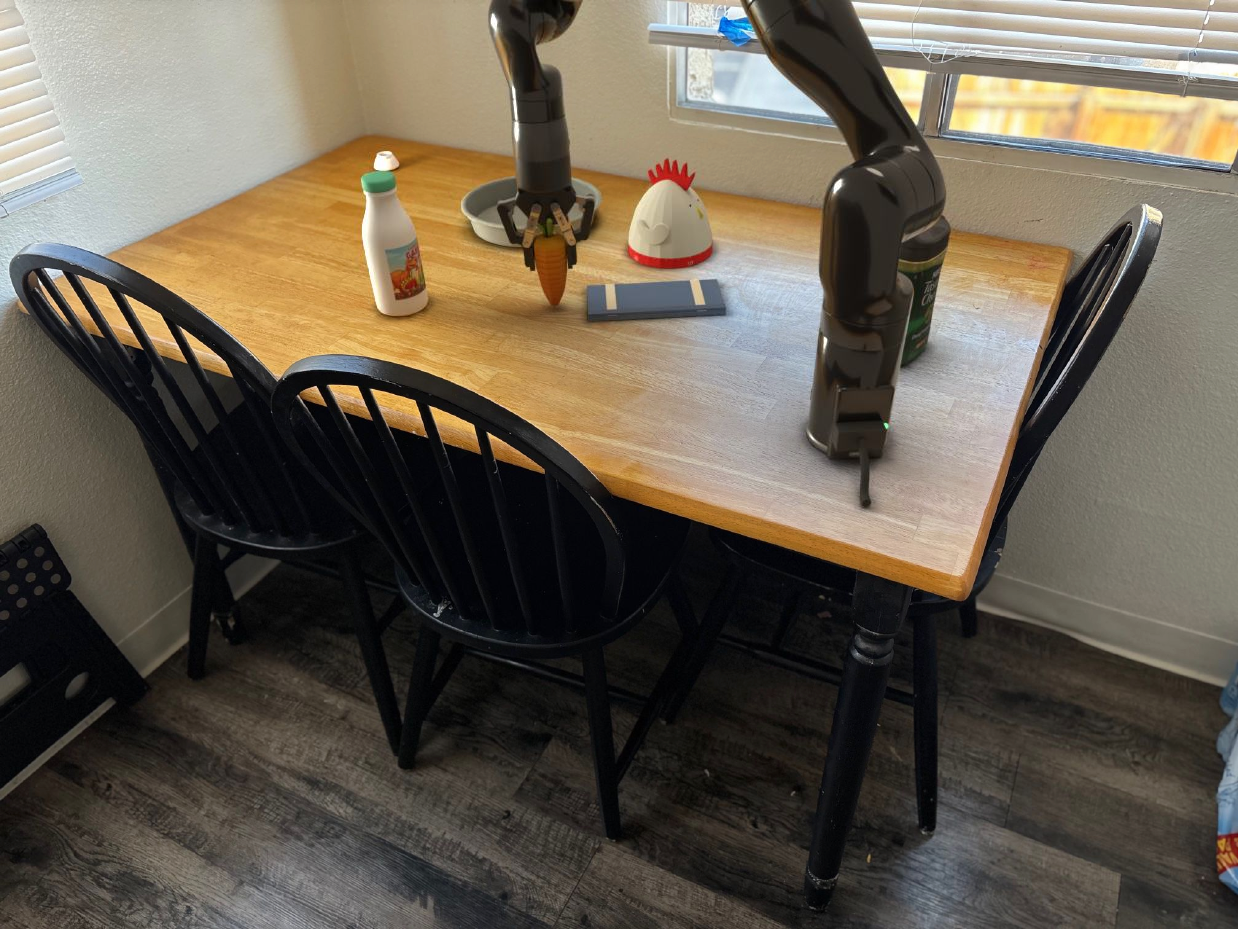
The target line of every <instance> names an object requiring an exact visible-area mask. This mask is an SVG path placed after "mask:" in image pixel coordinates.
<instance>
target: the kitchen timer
mask: <svg viewBox="0 0 1238 929" xmlns="http://www.w3.org/2000/svg"><path fill="white" fill-rule="evenodd" d="M669 160H670V159H669V157H666V158H665V159H664V160H663V165H661V163H658V162H657V164H655V167H654V168H655V173H656V175H655V173H654V171H653V169H652V168H650V169H648V170H647V175H648V178H649V180H650V183H651V186H650V187H649V188H648V189H647V190H646V192H644V194H643V196H642V197H641V199H640V200H639V202H638V204H637V206H636V208H635V210H634V212H633V217H632V220H631V223H630V226H629V230H628V255H629V256H630V258H631V259H632V260H634V261H636V262H637V263H639V264H641V265H645V266H647V267H651V268H659V269H680V268H687V267H691V266H692V267H693V266H695V265H698V264H700V263H702V262H705V261H706V260H707V259H708V258H710V257H711V256H712V253H713V246H714V244H713V243H714V239H713V232H712V227H711V223H710V221H709V217H708V216H709V215H708V212H707V210H706V207H705V204H704V202H703V200H702V199H701V198H700V196H699V195H698V193H697V192H696V191H695V190H694V189H693V188H692V187H691V185H692V183H693V181H694V178H695V177H696V173H697V172H696V171H694V172H693V173H691V175H688V174H689V172H688V171H689V168H688V165H689V164H688V162H685V163H683V164H682V167H681V170H680V171H679V164H678V159H674V160H673V161H672V164H670V161H669ZM662 166H663V167H662Z"/></svg>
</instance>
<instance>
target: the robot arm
mask: <svg viewBox="0 0 1238 929" xmlns="http://www.w3.org/2000/svg"><path fill="white" fill-rule="evenodd" d="M583 2H584V0H490V3H489V6H488V11H487V25H488V31H489V35H490V39H491V41H492V45H493V47H494V50H495V52H496V55H497V58H498V61H499V64H500V67H501V69H502V70H501V71H502V72H503V74H504V77H505V81H506V83H507V86H508V94H509V95H508V96H509V105H510V114H511V143H512V145H511V146H512V152H513V161H514V171H515V176H516V181H517V193H516V195H515V197H514V198H511V199H507V200H505V199H504V198H501V199H499V200H498V205H497V211H498V213H499V216H500V219H501V221H502V224H503V226H504V229H505V231H506V234H507V236H508V239H509V242H510V243H511V244H519V245H521V246H522V247H521V248H522V249H523V250H522V251H523V261H524V265H525V267H526V268H529V271H530V272H536V263H535V257H534V249H533V242H532V239H533V235H534V232H535V229H536V225H537V223H539V224H540V225H545V224H547V219H549V218H550V219H551V220H552V225H558V224H559V226H560V229H561V231H562V232H563V234H564V236H565V238H566V241H565V242H566V250H567V270H573V269H574V266H577V263H578V251H577V244H578V243H579V242H581V241H587V240H588V239H589V235H590V231H591V227H592V225H591V222H592V217H593V212H594V207H595V198H594V195H592V194H588V195H587V196H585V195H579V194H576V192H575V190H574V189H573V186H572V177H573V176H572V164H571V163H572V162H571V150H570V146H571V141H570V136H569V128H568V123H567V117H566V106H565V92H564V81H563V76H562V73H561V71H560V69H558V68H557V67H556V66H554V65H552V64H550V63H543V62H541V60H540V57H539V55H538V50H537V47H538V46H540V45H544V44H548V43H551V42H553V41H555V40H557V39H558V38H560V37H561V36H563V35H564V34H566V32H567V31H568V30H569V29H570V28H571V26H572V24H573V23H574V21H575V19H576V18H577V15H578V13H579V11H580V8H581V6H582V4H583ZM739 2H740V4H741V7H742V9H743V11H744V14H745V15H746V18H747V20H748V22H749V25H750V26H751V28H752V30H753V32H754V34H755V36H756V38H757V40H758V42H759V45H760V46H761V48H762V51H763V52H764V53H765V55H766V58H768V60H769V61H770V63H771V64H772V65H773V66H774V68H775V69H776V70H777V71H778V72H779V73H780V74H781V75H782V76H783V77H784V78H785V79H786V80H787V81H788V82H790V83H791V84H792V85H793V86H794V87H795V88H796V89H798V90H799V91H800V92H801V93H802V94H804V95H805V96H806V97H807V98H809V100H811V101H812V102H813V103H814V104H815V105H817V106H818V107H819V108H820V109H821V110H822V111H823V112H824V113H825V114H826V115H827V116H828V118H829V119H830V120H831V121H832V123H833V124H834V125H835V126H836V128H837V130H838V132H839V133H840V134H841V136H842V138H843V140H844V142H845V144H846V146H847V148H848V150H849V152H850V155H851V156H852V159H853V160H854V161H853V162H851V163H849V164H846V165H845V166H843V167H841V168H840V169H839V170H838V171H837V172H836V173H835V174H834V175H833V176H832V177H831V179H830V181H829V183H828V185H827V188H826V190H825V194H824V197H823V202H822V208H821V215H820V216H821V217H820V231H819V232H820V234H819V252H818V277H819V281H820V284H821V288H822V303H821V311H820V318H819V327H818V334H817V335H818V336H817V342H816V343H817V344H816V350H815V351H816V352H815V360H814V369H813V377H812V385H811V389H810V397H809V400H810V402H809V403H810V404H809V410H808V411H809V413H808V420H807V422H806V424H807V425H806V430H805V431H806V437H807V439H808V441H809V442H810V443H811V445H813V446H814V447H815V448H816V449H818V450H819V451H821V452H823V453H825V454H827V456H828V459H829V460H844V459H845V460H846V459H859V463H860V480H859V497H860V501H861V502H860V503H861V504H862V506H864V507H869V506H871V504H872V500H871V497H870V480H871V478H870V477H871V476H870V475H871V471H870V470H871V469H870V458H881V457H883V456H884V452H885V447H886V446H887V444H888V441H889V435H890V431H889V430H890V425H891V419H892V413H893V408H894V402H895V396H896V391H897V386H898V380H899V375H900V369H901V365H902V364H901V360H902V354H903V349H904V343H905V338H906V333H907V328H908V323H909V317H910V312H911V307H912V301H913V295H914V288H913V284H912V282H911V280H910V279H909V278H908V277H907V276H906V275H904V274H903V273H901V272H899V271H898V264H899V256H900V249H901V244H902V243H904V242H906V241H908V240H910V239H912V238H913V237H915V236H917V235H919V234H921V233H923V232H924V231H926V230H928V229H929V228H931V227H932V226H933V225H934V224H935V223H936V222H937V221H938V220H939V218H940V217H941V215H943V213H944V211H945V206H946V202H947V187H946V181H945V177H944V173H943V171H942V168H941V166H940V164H939V161H938V159H937V158H936V156H935V154H934V153H933V150H932V149H931V148H930V146H929V144H928V142H927V141H926V139H925V137H924V136H923V134H922V133H921V131H920V129H919V128H918V126H917V124H916V123H915V121H914V119H913V118H912V116H911V115H910V113H909V111H907V109H906V107H905V105H904V103H903V102H902V101H901V98H900V97H899V95H898V93H897V92H896V90H895V88H894V87H893V84H892V83H891V81H890V78H889V77H888V75H887V73H886V71H885V68H884V67H883V65H882V62H881V60H880V58H879V56H878V54H877V53H876V51H875V48H874V47H873V44H872V42H871V40H870V38H869V36H868V34H867V32H866V31H865V30H866V29H865V28H864V27H863V24H862V23H861V20H860V18H859V16H858V13H857V11H856V9H855V6H854V5H853V2H852V0H739ZM575 203H577V204H578V205H579V210H580V211H581V212H583V215H582V220H581V225H580V228H579V229H577V230H574V229H573V226H572V224H571V221H570V218H569V216H568V213H569V212H570V210H571V209H572V207H573V205H574V204H575ZM515 206H517V207H518V208H519V209H520V210H521V211H522V212H523V213H524V214H525V216H526V217H527V222H526V227H525V231H524V233H521V232H518V230H517V228H516V225H515V222H514V220H513V217H512V215H513V214H514V207H515ZM592 223H593V222H592Z"/></svg>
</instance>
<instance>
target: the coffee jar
mask: <svg viewBox="0 0 1238 929" xmlns="http://www.w3.org/2000/svg"><path fill="white" fill-rule="evenodd" d="M951 231H952V228H951V224H950V222H949V221H948V220H947V218H946V216H945V215H943V214H942V215H941V217H940V218H939V220H938V221H937V222H936V223H935V224H934V225H933V226H932V227H931V228H929V229H928V230H926V231H924V232H923V233H921V234H919V235H917V236H915V237H913V238H912V239H910V240H908V241H906V242H904V243H902V244H901V249H900V256H899V264H898V271H899V272H901V273H903V274H904V275H906V276H907V277H908V278H909V279H910V280H911V282H912V284H913V288H914V295H913V301H912V307H911V312H910V317H909V323H908V328H907V333H906V338H905V343H904V349H903V354H902V360H901V365H905V364H907V363H909V362H910V361H912V360H913V359H914V358H916V357H917V356H919V355H920V354H921V353H922V351H924V349H925V348H926V347H927V345H928V341H929V337H930V332H931V326H932V320H933V314H934V308H935V302H936V297H937V292H938V287H939V282H940V277H941V273H942V269H943V265H944V261H945V258H946V255H947V251H948V248H949V242H950V235H951Z"/></svg>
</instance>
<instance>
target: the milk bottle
mask: <svg viewBox="0 0 1238 929" xmlns="http://www.w3.org/2000/svg"><path fill="white" fill-rule="evenodd" d="M360 182H361V187H362V190H363V195H365V197H366V204H365V205H366V206H365V211H364V212H365V213H364V216H363V220H362V225H361V226H362V227H361V234H362V243H363V249H364V254H365V260H366V263H367V268H368V274H369V278H370V282H371V287H372V291H373V296H374V300H375V304H376V307H377V309H378V311H379V312H380V313H382V314H383V315H385V316H390V317H403V316H405V317H406V316H410V315H413V314H417V313H418V312H420V311H422V310H423V309H425V308H426V307H427V305H428V302H429V297H428V290H427V283H426V279H425V274H424V273H425V272H424V267H423V262H422V257H421V256H422V255H421V250H420V247H419V241H418V236H417V232H416V229H415V226H414V223H413V220H412V218H411V217H410V216H409V214H408V212H407V211H406V210H405V208H404V206H403V205H402V203H401V201H400V199H399V198H398V194H397V191H398V187H397V182H396V176H395V174H394V173H393V172H391V171H380V170H375V171H370V172H368V173H365V174H363V175H362V177H361V178H360Z"/></svg>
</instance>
